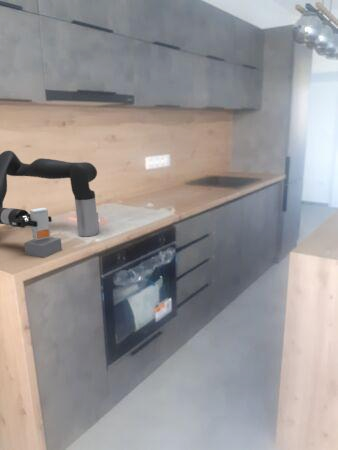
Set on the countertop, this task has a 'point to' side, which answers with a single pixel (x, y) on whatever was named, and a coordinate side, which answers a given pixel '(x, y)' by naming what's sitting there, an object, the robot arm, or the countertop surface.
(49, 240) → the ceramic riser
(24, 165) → the robot arm
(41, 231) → the skincare box
